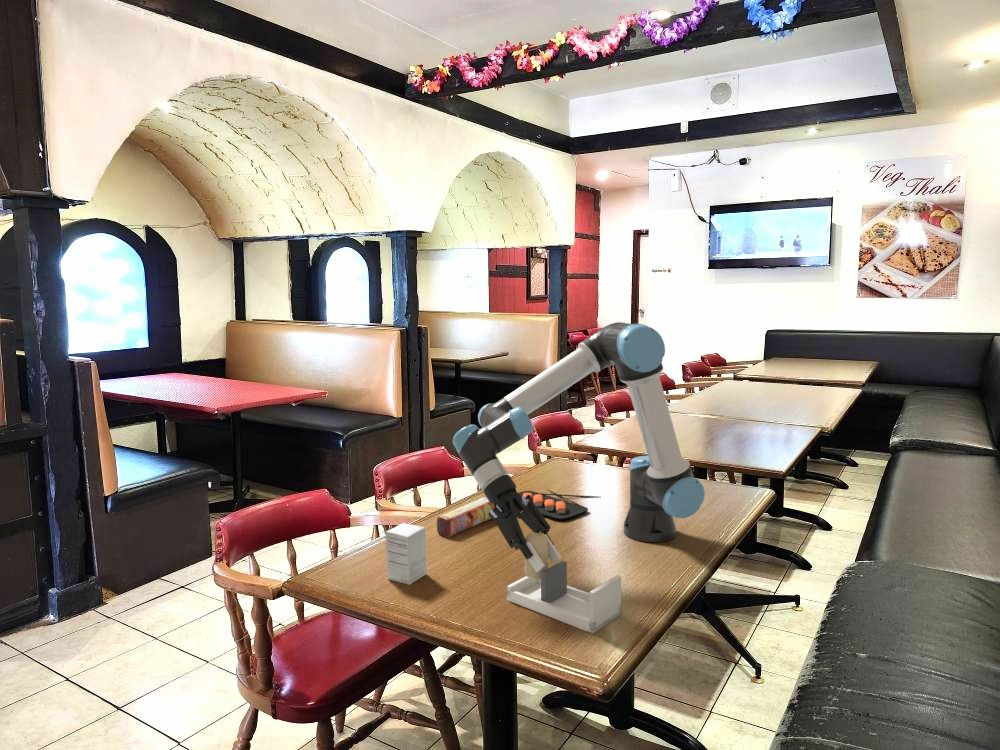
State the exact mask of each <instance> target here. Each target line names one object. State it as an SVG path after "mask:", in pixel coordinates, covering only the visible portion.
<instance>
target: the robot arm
mask: <svg viewBox="0 0 1000 750" xmlns="http://www.w3.org/2000/svg"><path fill="white" fill-rule="evenodd" d="M665 346H666V345H665V341H664V339H663V337H662V335H661V334H660V333H659V332H658V331H657V330H656V329H654V328H653V327H651V326H648V325H646V324H642V323H628V322H619V321H618V322H614V323H610V324H607V325H606V326H603V327H601V328H600V329H599V330H597V331H596V332H594V333H592V334H591V335H589V336H588V337H586V338H585V339H584V340H582V341H581V342H579V343H578V345H577V349H575V350H574V351H572V352H570V353H569V354H567V355H566V356H565V357H563V358H562V359H560V360H558V361H557V362H555V363H554V364H553V365H551V366H549V367H548V368H545V370H544V371H542V372H540V373H539V374H538V375H536V376H534V377H533V378H532V379H530V380H528V381H527V382H526V383H524V384H522V385H521V386H519V387H517V388H516V389H515V390H514V391H512V392H510V393H509V394H507V395H506V396H504V397H502V398H501V399H499V400H498V401H496V402H494V403H487V404H485V405H483V406H482V407H481V408H480V409H479V411H478V414H477V420H478V423H479V425H480V426H481V428H480V427H478V425H476V424H468V425H467V426H464V427H462V428H461V429H459V430H458V431H456V433H455V434H454V436H453V438H452V445H453V446H454V448H455V450H456V451H457V453H458V455H459V457H460V458H461V460H462V462H463V463H464V465H465V466H466V467H467V469H468V470H469V472H470V474H471V475H472V477H473V478H474V479H475V481H476V483H477V484H478V486H479V488H481V490H483V494H484V495H485V496H484V497H485V498H487V499H488V500H489V502H490V503H491V504H494V508H493V509H492V510H491V511H490V512H489V516H490V517H491V518H492V519H491V520H493V521H494V522H495V524H496V526H497V527H498V529H499V531H500V532H501V534H502V536H503V538H504V539H505V540H506V542H507V545H508V546H509V547H510V549H513V548H514V550H515V551H518V550H520V552H521V553H522V555H523V556H524V559H525V558H526V559H527V560H529V562H530V563H531V565H532V566H533V568H534V570H535V571H536V573H537V572H539V571H540V570H541V569H542V568H543V567H544V566H545V565H544V563H543V562H542V560H541V559H540V557H539V556H538V554H537V552H536V551H535V549H534V548H533V546H532V545H531V543H530V542H527V543H526V540H525V538H526V536H525V535H524V533H523V530H522V528H521V525H520V523H519V519H520V520H521V521H522V522H523V523H524V524H525V525H526V526H527V527H528V528H529V529H530V530H531V532H535V533H540V532H542V533H544V535H545V536H546V537H547V538H548V560H550V561H551V563H552V564H553V565H555V564H557V563H558V561H559V560H561V558H562V556H561V554H560V553H559V551H558V550H557V548H556V547H555V544H554V542H553V541H552V539H551V537H550V536H549V532H550V529H551V525H550V524H549V522H548V521H547V520H546V518H545V517H544V515H542V514H541V513H540V511H539V510H538V508H537V507H536V506H535V504H534V503H533V500H532V498H531V496H530V495H527V496H526V497H521V495H520V494H518V493H519V492H518V491H517V485H516V483H515V482H514V479H512V477H511V475H509V474H508V471H507V469H506V467H505V466H504V465H503V464H502V462H501V460H500V459H499V458H498V456H497V455H498V454H500V453H501V452H503V451H504V450H506V449H508V448H509V447H511V446H513V445H515V444H516V443H517V442H519V441H522V440H524V439H525V438H526V437H527V436H528V435H530V434H531V433H533V431H534V425H533V422H532V420H531V419H530V417H529V415H530V414H531V413H532V412H534V411H536V410H537V409H539V408H540V407H541V406H543V405H545V404H546V403H548V402H549V401H551V400H552V399H554V398H555V397H556V396H558V395H560V394H561V393H562V392H564V391H566V390H567V389H570V388H571V387H572V386H573V385H574V384H576V383H578V382H579V381H582V379H584V378H585V377H587V376H588V375H590V374H591V373H599V372H601V371H602V370H603V369H605V368H608V367H611V366H615V369H616V372H617V375H618V378H619V381H620V382H622V383H623V384H625V385H627V389H628V392H629V393H628V394H629V396H630V399H631V403H632V407H633V409H634V413H635V416H636V420H637V423H638V426H639V429H640V434H641V437H642V441H643V444H644V448H645V452H646V455H640V456H636V457H633V458H632V459H631V460H630V466H629V508H628V511H627V514H626V517H625V519H624V522H623V533H624V535H625V536H627V537H628V538H629V539H632V540H635V541H638V542H639V541H640V542H645V543H646V542H647V543H663V542H668V541H670V540H673V539H674V538H675V537H676V536H677V526H676V523H675V519H674V518H677V519H687V518H689V517H692V516H693V515H695V514H696V513H697V512H698V511H699V510H700V508H701V506H702V504H703V503H704V501H705V495H706V493H705V487H704V486H703V483H702V482H701V481H700V480H699V479H698V478H696V477H694V474H693V471H692V470H693V469H692V468H691V463H690V461H689V460H688V459H686V458H684V457H683V456H682V453H681V449H680V446H679V442H678V438H677V435H676V432H675V428H674V424H673V420H672V418H671V417H672V416H671V414H670V410H669V407H668V403H667V400H666V396H665V392H664V388H663V385H662V381H661V377H660V375H661V374H662V372H663V370H664V366H663V358H664V357H665V353H666V348H665Z"/></svg>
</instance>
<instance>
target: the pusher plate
mask: <svg viewBox="0 0 1000 750" xmlns="http://www.w3.org/2000/svg"><path fill="white" fill-rule="evenodd" d="M567 586H568V562H567V561H565V560H561V561H559V562H556V563H554V564H553V565H552V566H550V567H549V566H548V569H546V570H544V571H542V572H541V600H542V601H544V602H547V603H551V602H553V601H555V600H556V599H558V598H560V597H561V596H563V595H565V594H567Z"/></svg>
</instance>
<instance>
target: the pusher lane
mask: <svg viewBox="0 0 1000 750" xmlns="http://www.w3.org/2000/svg"><path fill="white" fill-rule="evenodd" d="M506 599H507V601H509V602H510V603H513V604H515V605H518V606H521V607H524V608H526V609H528V610H531V611H534V612H536V613H539V614H542V615H544V616H546V617H549V618H552V619H555V620H557V621H559V622H561V623H565V624H567V625H570V626H573V627H575V628H577V629H580V630H582V631H585V632H587V631H588V633H590V634H593V633H594V634H595V633H596V632H598V631H599V630H600V629H603V628H604V627H605V626H607V625H609V624H610V623H611V622H612V621H614V620H615V619H617V618H618V617H620V616H621V614H622V575H619V574H616V575H615V576H613V577H611V578H610V579H608V580H607V581H605V582H603V583H602V584H599V585H598V586H597V587H595V588H593V589H592V590H590V591H589V592H587V591H585V590H582V589H579V588H577V587H576V588H575V587H573V586H569V585H567V594H565V595H563V596H561V597H560V598H558V599H556V600H555V601H553V602H551V603H547V602H544V601H542V600H541V579H533V578H529V577H527V576H526V575H525V576H523V577H522V578H520V579H518V580H516V581H514V582H512V583H510V584H509V585H507V586H506Z"/></svg>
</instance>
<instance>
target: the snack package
mask: <svg viewBox="0 0 1000 750" xmlns="http://www.w3.org/2000/svg"><path fill="white" fill-rule="evenodd" d="M493 508H494V504H491V503H490V502H489V500H488V499H487V497H480V498H478V499H476V500H474V501H472V502H470V503H467V504H465V505H463V506H460V507H458V508H455V509H454V510H451V511H448V512H446V513H444V514H441V515H438V517H437V518H436V530H437V534H438V535H440V536H443V537H446V538H449V537H452V536H455V535H457V534H458V533H461V532H463V531H466V530H469V529H471V528H473V527H475V526H477V525H480V524H483V523H484V522H486V521H489V520H493V519H492V518H491V517H490V516H489V512H490V511H491V510H492V509H493Z"/></svg>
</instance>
